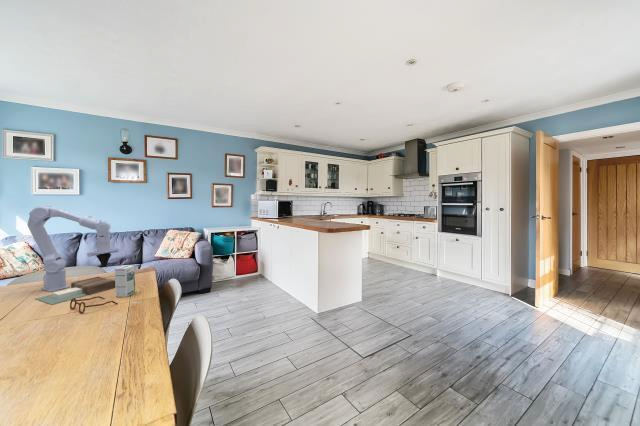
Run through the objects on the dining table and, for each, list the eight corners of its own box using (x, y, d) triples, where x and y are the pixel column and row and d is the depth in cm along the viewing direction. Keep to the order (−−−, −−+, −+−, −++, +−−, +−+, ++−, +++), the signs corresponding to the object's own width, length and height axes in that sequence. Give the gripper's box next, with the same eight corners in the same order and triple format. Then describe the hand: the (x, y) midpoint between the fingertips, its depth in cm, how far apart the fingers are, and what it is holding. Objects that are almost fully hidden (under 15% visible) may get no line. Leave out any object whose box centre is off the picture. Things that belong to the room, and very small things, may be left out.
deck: (71, 290, 135) (71, 282, 135) (98, 283, 146) (98, 276, 146) (88, 295, 129) (88, 287, 128) (115, 287, 140) (115, 280, 139)
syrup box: (126, 297, 127) (126, 268, 126) (115, 296, 127) (114, 267, 126) (135, 292, 132) (134, 265, 132) (124, 292, 132) (123, 264, 132)
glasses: (69, 309, 113) (68, 298, 113) (104, 299, 125) (104, 289, 124) (82, 315, 107) (82, 303, 107) (119, 304, 119) (118, 294, 118)
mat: (34, 299, 123) (34, 298, 123) (70, 290, 134) (70, 289, 134) (51, 304, 116) (51, 304, 116) (87, 295, 128) (87, 294, 128)
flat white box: (52, 297, 125) (52, 292, 125) (76, 291, 133) (76, 287, 133) (58, 299, 122) (58, 294, 122) (82, 292, 131) (82, 289, 130)
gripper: (92, 245, 138) (92, 270, 138) (121, 241, 151) (122, 264, 152) (84, 244, 140) (85, 269, 141) (114, 240, 154) (115, 263, 154)
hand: (104, 266), depth 147 cm, fingers closed
